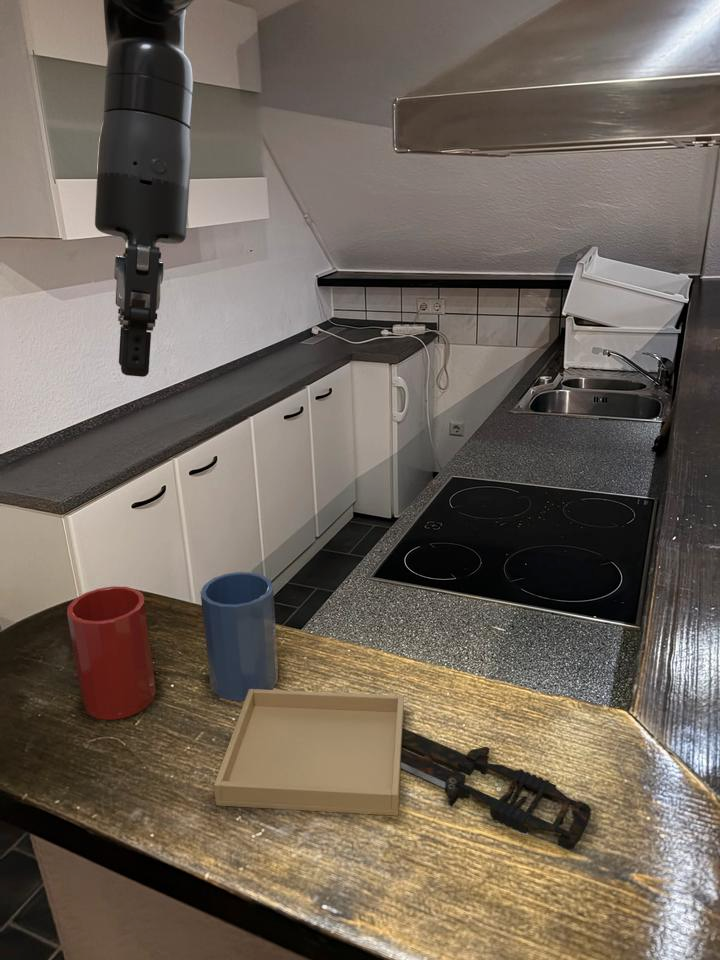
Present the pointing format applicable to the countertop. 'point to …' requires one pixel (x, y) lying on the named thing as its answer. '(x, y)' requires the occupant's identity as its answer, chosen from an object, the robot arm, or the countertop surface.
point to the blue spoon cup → (240, 634)
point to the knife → (499, 808)
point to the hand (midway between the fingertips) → (132, 371)
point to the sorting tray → (314, 753)
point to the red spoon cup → (112, 652)
